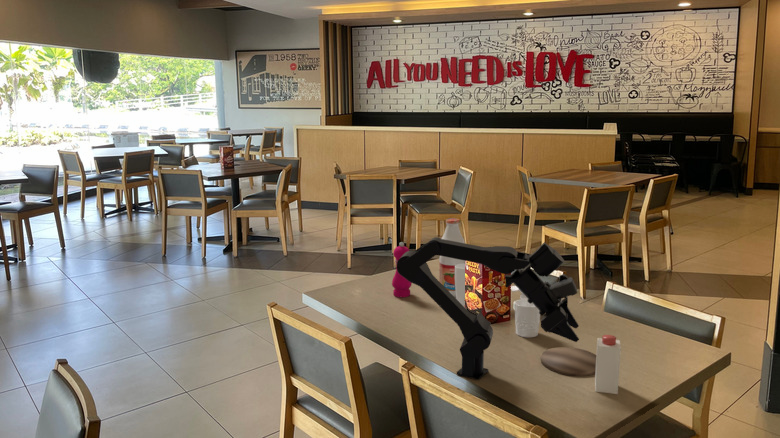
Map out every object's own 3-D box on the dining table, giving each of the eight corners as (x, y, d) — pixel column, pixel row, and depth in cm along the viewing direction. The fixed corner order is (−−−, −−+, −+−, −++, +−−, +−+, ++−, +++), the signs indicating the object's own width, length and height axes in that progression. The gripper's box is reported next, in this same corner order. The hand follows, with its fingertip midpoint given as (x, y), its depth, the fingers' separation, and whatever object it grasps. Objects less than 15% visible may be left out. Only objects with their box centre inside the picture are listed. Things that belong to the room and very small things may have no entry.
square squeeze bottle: (617, 394, 153) (621, 342, 150) (595, 391, 154) (598, 340, 151) (616, 384, 157) (619, 334, 155) (594, 382, 159) (597, 332, 156)
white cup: (521, 327, 197) (522, 296, 195) (544, 332, 192) (545, 301, 190) (509, 334, 191) (510, 303, 189) (532, 340, 186) (533, 308, 184)
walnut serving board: (592, 381, 160) (592, 376, 159) (532, 366, 168) (532, 362, 168) (608, 359, 173) (608, 354, 172) (552, 346, 181) (552, 343, 181)
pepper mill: (389, 296, 228) (389, 243, 224) (395, 291, 234) (394, 239, 230) (408, 298, 226) (408, 244, 222) (413, 292, 232) (413, 240, 228)
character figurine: (540, 313, 209) (542, 279, 207) (512, 313, 209) (513, 279, 207) (535, 304, 218) (536, 271, 215) (508, 304, 218) (509, 271, 216)
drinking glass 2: (473, 311, 211) (473, 269, 208) (453, 310, 213) (453, 268, 210) (474, 305, 218) (475, 263, 215) (455, 304, 219) (455, 262, 216)
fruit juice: (457, 288, 237) (457, 216, 231) (469, 295, 228) (470, 220, 223) (434, 291, 233) (435, 218, 228) (446, 298, 225) (447, 222, 219)
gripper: (557, 278, 145) (604, 327, 144) (559, 258, 162) (601, 302, 161) (521, 307, 148) (567, 356, 147) (527, 285, 166) (568, 328, 165)
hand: (577, 333), depth 155 cm, fingers open, 9 cm apart
